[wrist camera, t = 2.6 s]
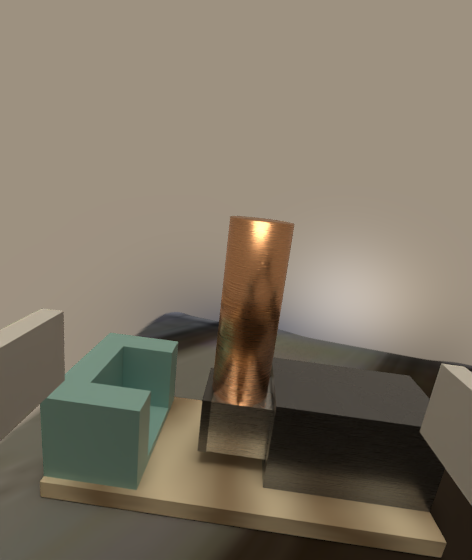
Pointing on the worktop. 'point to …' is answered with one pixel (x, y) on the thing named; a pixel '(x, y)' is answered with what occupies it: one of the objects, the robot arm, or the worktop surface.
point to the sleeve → (350, 436)
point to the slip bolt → (246, 339)
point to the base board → (247, 496)
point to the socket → (109, 411)
